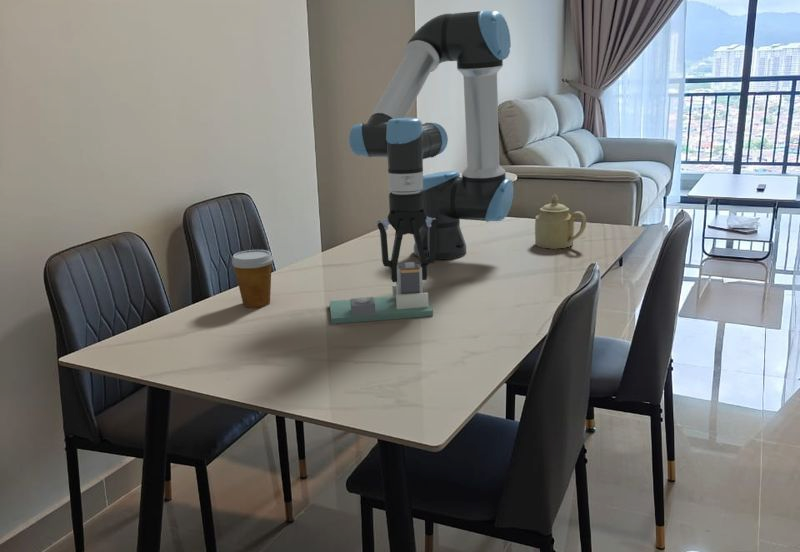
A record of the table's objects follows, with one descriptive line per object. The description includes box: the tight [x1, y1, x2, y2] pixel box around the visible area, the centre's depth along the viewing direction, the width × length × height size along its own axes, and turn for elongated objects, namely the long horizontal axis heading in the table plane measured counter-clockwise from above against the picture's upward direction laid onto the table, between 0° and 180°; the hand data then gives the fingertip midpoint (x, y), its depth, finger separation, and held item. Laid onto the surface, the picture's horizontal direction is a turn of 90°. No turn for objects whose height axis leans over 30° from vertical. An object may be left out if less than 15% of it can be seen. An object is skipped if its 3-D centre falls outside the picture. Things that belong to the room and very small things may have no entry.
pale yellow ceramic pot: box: [534, 194, 587, 250], centre depth 208 cm, size 15×11×15 cm
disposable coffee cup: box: [231, 249, 274, 309], centre depth 166 cm, size 10×10×12 cm
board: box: [329, 282, 434, 325], centre depth 159 cm, size 12×22×4 cm, turn 97°
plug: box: [397, 261, 420, 294], centre depth 159 cm, size 5×4×9 cm
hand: (409, 294), depth 160 cm, fingers closed on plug, 4 cm apart
